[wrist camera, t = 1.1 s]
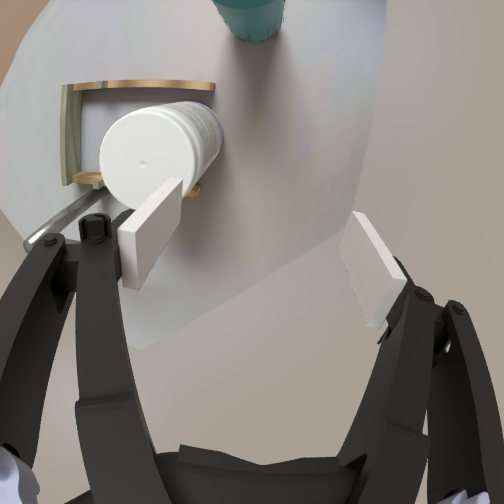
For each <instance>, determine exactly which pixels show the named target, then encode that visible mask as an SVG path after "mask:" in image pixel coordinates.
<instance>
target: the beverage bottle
mask: <svg viewBox="0 0 504 504" xmlns="http://www.w3.org/2000/svg"><path fill="white" fill-rule="evenodd" d="M212 1H213V3H214V4H215V6H216V7H217V9H218V10H216V11H219V13H220V14H221V16H222V17H223V19H224V20H225V22H226V23H225V22H224V23H225V24H227V25H228V26H229V28H230V29H231V31H232V32H233V33H234V34H235V35H236V36H237V37H239V38H241V39H243V40H245V41H250V42H251V41H252V42H257V41H263V40H266V39H268V38H270V37H272V36H274V35H275V34H277V32H278V31H279V28H280V27H281V23H282V16H283V9H284V2H285V0H212ZM285 5H286V4H285ZM284 10H285V9H284ZM217 13H218V12H217ZM284 13H285V12H284ZM283 19H284V18H283ZM224 20H223V21H224ZM282 24H283V23H282ZM227 25H226V26H227ZM229 28H228V29H229Z"/></svg>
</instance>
